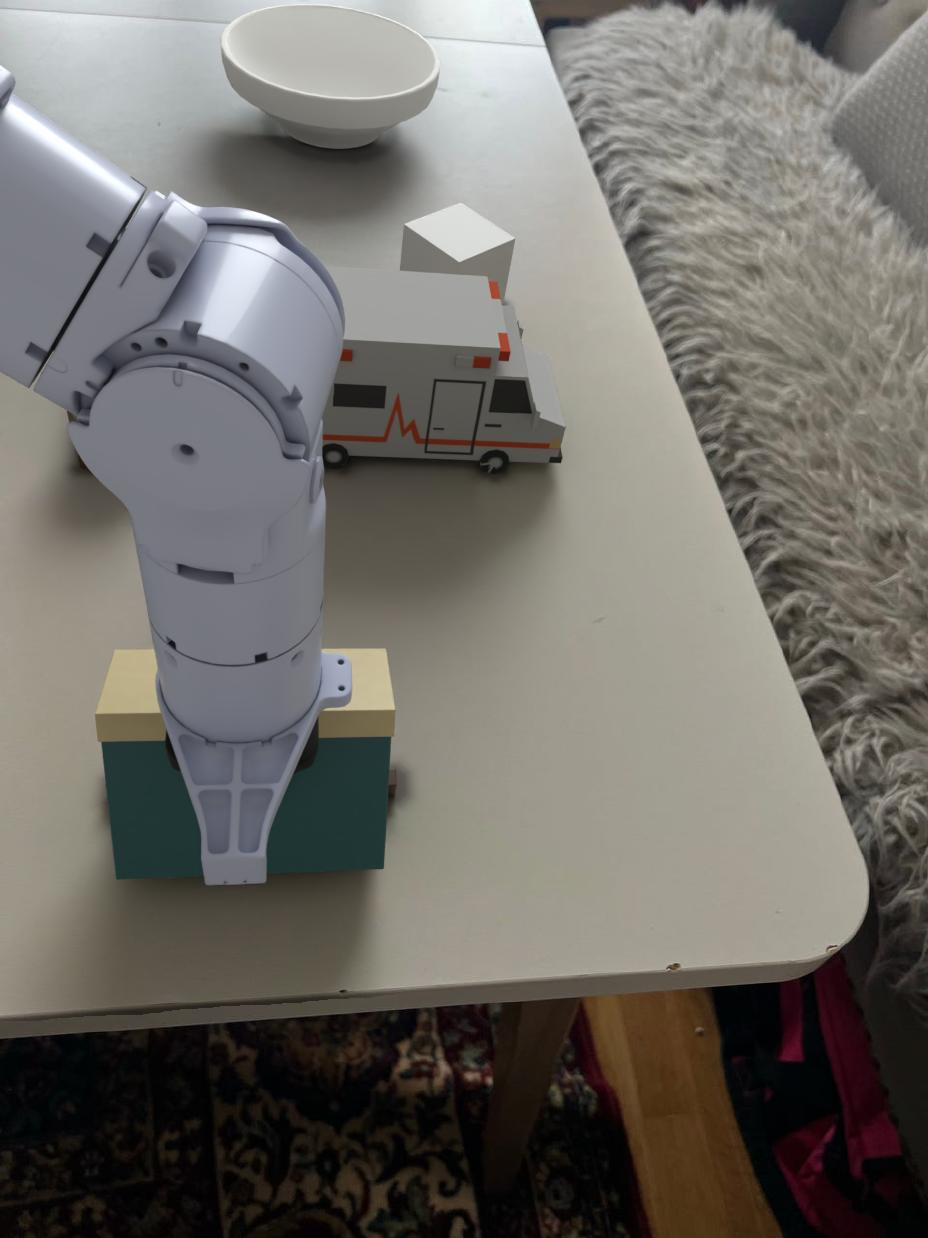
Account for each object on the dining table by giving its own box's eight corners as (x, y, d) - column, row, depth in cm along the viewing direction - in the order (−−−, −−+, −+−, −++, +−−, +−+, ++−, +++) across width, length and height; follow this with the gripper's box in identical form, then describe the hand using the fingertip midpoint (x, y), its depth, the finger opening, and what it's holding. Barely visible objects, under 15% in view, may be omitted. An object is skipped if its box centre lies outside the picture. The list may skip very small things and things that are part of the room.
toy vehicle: (560, 484, 68) (594, 363, 61) (302, 475, 66) (303, 347, 58) (541, 394, 74) (569, 273, 67) (303, 382, 72) (304, 255, 64)
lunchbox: (113, 882, 45) (94, 713, 41) (129, 807, 49) (114, 649, 45) (386, 871, 47) (395, 709, 43) (378, 800, 51) (386, 648, 47)
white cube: (502, 306, 81) (515, 238, 76) (449, 332, 78) (459, 262, 73) (451, 270, 83) (460, 201, 78) (397, 293, 80) (403, 223, 75)
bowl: (467, 169, 94) (477, 90, 89) (265, 192, 87) (263, 108, 81) (384, 74, 104) (389, -2, 99) (197, 88, 97) (191, 7, 92)
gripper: (365, 787, 30) (347, 959, 40) (351, 453, 39) (340, 664, 49) (114, 793, 28) (163, 968, 39) (160, 447, 37) (190, 665, 48)
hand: (251, 799), depth 44 cm, fingers closed, pressing on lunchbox
